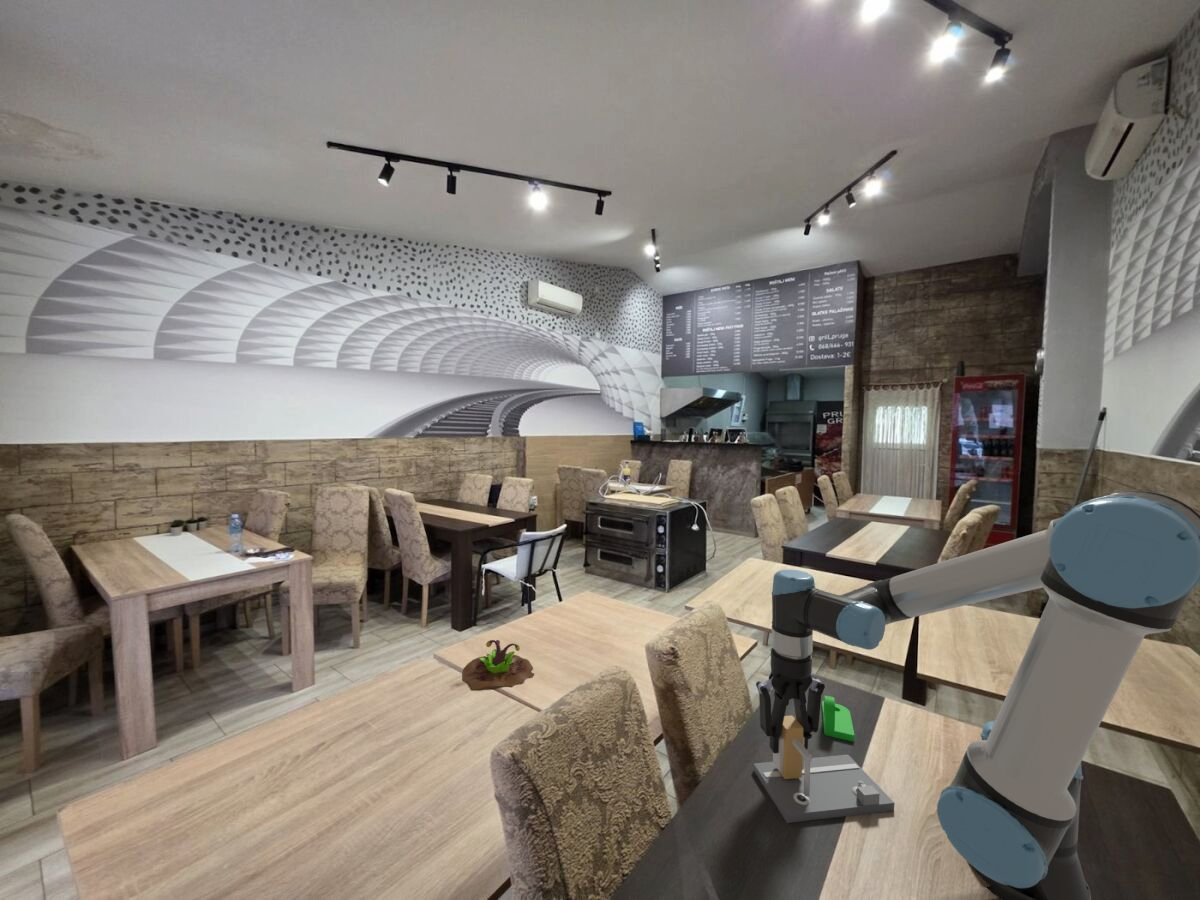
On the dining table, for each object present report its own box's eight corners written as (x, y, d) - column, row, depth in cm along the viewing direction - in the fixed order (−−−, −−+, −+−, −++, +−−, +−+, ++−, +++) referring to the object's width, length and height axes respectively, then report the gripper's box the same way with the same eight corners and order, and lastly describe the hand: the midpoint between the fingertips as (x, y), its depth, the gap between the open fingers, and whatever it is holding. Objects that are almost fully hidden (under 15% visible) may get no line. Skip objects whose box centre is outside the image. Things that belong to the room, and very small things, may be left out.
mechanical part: (854, 744, 107) (855, 709, 106) (824, 737, 109) (825, 703, 108) (848, 714, 118) (849, 682, 117) (821, 708, 120) (822, 677, 120)
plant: (456, 668, 139) (456, 630, 138) (522, 655, 147) (522, 619, 146) (467, 705, 121) (466, 661, 120) (541, 688, 129) (541, 647, 128)
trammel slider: (816, 797, 88) (818, 744, 88) (799, 799, 88) (800, 746, 87) (790, 763, 97) (792, 715, 97) (774, 764, 97) (776, 716, 96)
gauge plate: (894, 810, 88) (894, 792, 88) (787, 822, 85) (787, 804, 85) (847, 761, 101) (848, 745, 100) (753, 770, 98) (754, 754, 98)
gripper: (819, 639, 99) (816, 749, 100) (742, 644, 96) (740, 756, 98) (842, 657, 91) (838, 775, 92) (759, 662, 89) (757, 783, 90)
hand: (788, 765), depth 95 cm, fingers closed on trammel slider, 3 cm apart
